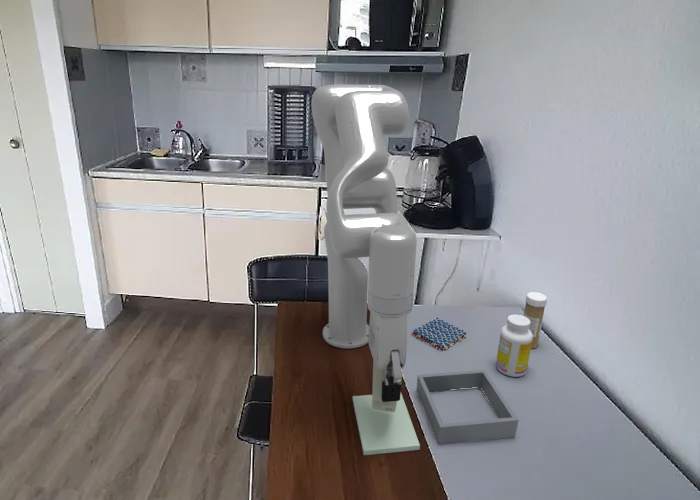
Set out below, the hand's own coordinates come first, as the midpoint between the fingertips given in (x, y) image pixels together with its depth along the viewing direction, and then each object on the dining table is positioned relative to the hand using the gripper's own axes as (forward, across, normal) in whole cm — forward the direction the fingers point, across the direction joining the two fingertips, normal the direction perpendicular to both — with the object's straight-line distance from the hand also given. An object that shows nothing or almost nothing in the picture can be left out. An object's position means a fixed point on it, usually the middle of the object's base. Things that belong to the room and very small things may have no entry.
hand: (386, 385), depth 80 cm
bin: (+9, -1, +16) cm, 18 cm away
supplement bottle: (+9, -13, +32) cm, 36 cm away
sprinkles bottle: (+9, -22, +41) cm, 48 cm away
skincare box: (+3, 0, 0) cm, 3 cm away
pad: (+9, 0, 0) cm, 9 cm away
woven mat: (+10, -28, +20) cm, 36 cm away
